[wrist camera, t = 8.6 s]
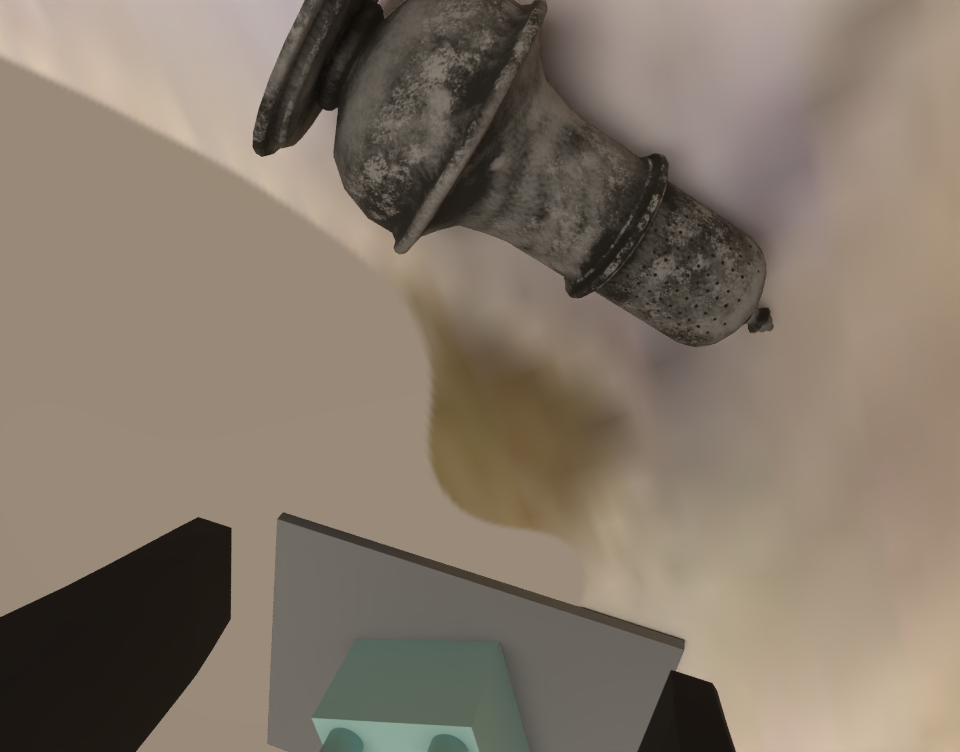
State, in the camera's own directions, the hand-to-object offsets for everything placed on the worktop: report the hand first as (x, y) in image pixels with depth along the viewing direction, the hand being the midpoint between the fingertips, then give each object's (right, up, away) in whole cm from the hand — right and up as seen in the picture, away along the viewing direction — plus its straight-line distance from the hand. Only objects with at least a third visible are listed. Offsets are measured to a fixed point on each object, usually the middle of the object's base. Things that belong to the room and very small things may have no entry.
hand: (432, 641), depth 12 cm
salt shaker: (-3, +11, +3) cm, 12 cm away
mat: (0, -8, +16) cm, 17 cm away
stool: (-1, -8, +15) cm, 17 cm away
